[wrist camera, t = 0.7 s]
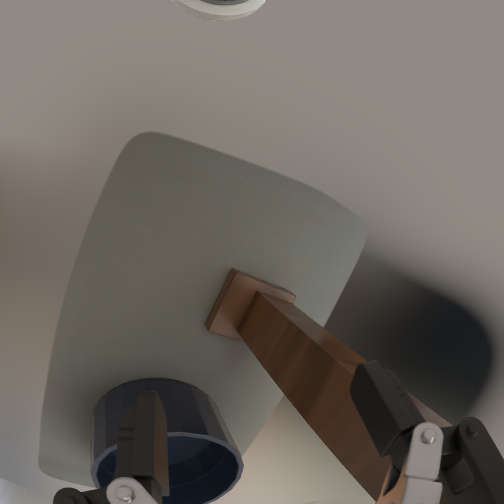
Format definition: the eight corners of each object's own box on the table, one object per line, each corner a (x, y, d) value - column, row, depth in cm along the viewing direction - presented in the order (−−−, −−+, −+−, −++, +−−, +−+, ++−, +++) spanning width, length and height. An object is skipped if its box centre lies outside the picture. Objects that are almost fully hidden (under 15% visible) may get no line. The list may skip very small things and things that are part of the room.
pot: (82, 451, 30) (83, 501, 22) (108, 360, 30) (107, 416, 21) (193, 470, 38) (210, 514, 30) (240, 393, 37) (268, 440, 29)
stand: (204, 325, 33) (405, 607, 4) (232, 267, 32) (527, 512, 4) (263, 342, 36) (465, 549, 8) (290, 291, 36) (541, 468, 7)
